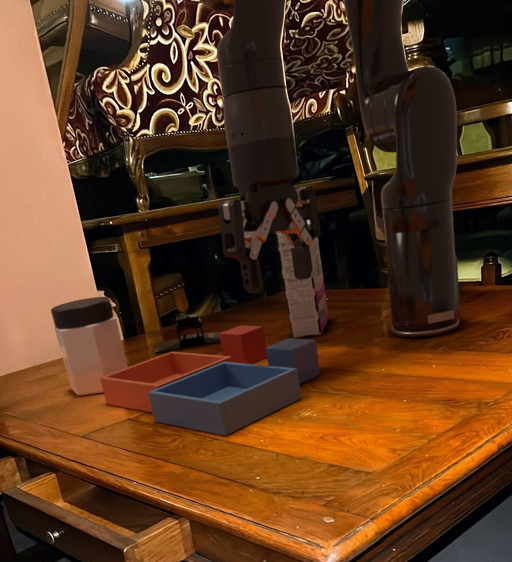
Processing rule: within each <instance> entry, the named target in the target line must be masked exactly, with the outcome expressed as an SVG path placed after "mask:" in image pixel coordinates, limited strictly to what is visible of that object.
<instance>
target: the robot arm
mask: <svg viewBox="0 0 512 562" xmlns="http://www.w3.org/2000/svg"><path fill="white" fill-rule="evenodd" d="M199 1H200V2H201V4H203V6H204V7H206V8H207V9H209V10H211V11H213V12H215V13H229V12H232V11H233V14H232V23H231V25H230V28H229V29H228V31H227V32H225V34H224V35H223V36H222V37H221V39H220V40H219V42H218V44H217V47H216V59H217V68H218V75H219V82H220V90H221V95H222V96H221V97H222V103H223V124H224V130H225V137H226V138H225V139H226V145H227V151H228V158H229V164H230V165H229V166H230V171H231V178H232V185H233V186H234V187H235V188H237V189H238V192H239V197H238V199H231V200H224V201H223V200H222V201H219V203H218V206H217V208H218V217H219V226H220V234H221V235H220V236H221V243H222V251H223V255H224V257H225V258H232V259H236V260H238V262H239V265H240V272H241V279H242V284H243V287H244V289H245V291H246V293H248V294H260V293H263V292H264V289H265V288H264V281H263V275H262V274H263V273H262V269H261V268H262V267H261V261H260V258H258V257H259V255H260V252H261V248H262V245H263V243H265V242H266V241H267V239H268V236H269V235H272V234H276V232H277V231H279V232H280V233H281V234H284V235H285V236H286V237H287V239H288V240H289V241H290V243H291V244H292V245H293V246H294V248H291V252H292V260H293V268H294V276H295V278H297V279H306V278H309V277H311V270H312V264H311V255H310V245H311V243H312V240H313V239H315V238H318V239H319V238H320V237H321V235H322V230H321V224H320V223H321V222H320V215H319V209H318V203H317V196H316V190H315V188H314V186H312V185H309V186H301V187H295V182H294V181H295V180H296V179H297V178H298V176H299V164H298V155H297V148H296V140H295V128H294V122H293V114H292V113H293V112H292V108H291V103H290V100H289V95H288V90H287V84H286V74H285V73H286V72H285V65H284V58H283V51H282V40H283V32H284V25H285V13H286V3H287V0H199ZM342 1H343V6H344V11H345V12H344V13H345V16H346V19H347V20H346V21H347V26H348V30H349V36H350V40H351V46H352V47H351V48H352V52H353V59H354V67H355V76H356V77H355V78H356V85H357V93H358V94H357V95H358V100H359V101H358V102H359V109H360V116H361V121H362V124H363V128H364V131H365V133H366V136H367V137H368V139H369V141H370V142H371V143H372V145H373V146H374V147H375V148H377V150H379V151H381V152H384V153H388V154H389V153H391V154H392V153H395V156H396V157H395V160H396V162H395V163H396V165H395V170H394V172H393V175H392V177H391V178H390V180H388V182H386V183H385V184H384V185H383V186H382V188H381V191H380V203H381V214H382V225H383V237H384V247H385V257H386V270H387V280H388V291H389V293H388V294H389V304H390V315H391V333H392V334H393V336H397V337H401V338H426V337H432V336H438V335H443V334H447V333H449V332H452V331H454V330H457V329H458V328H459V327H460V322H461V306H460V305H461V304H460V290H459V289H460V288H459V287H460V284H459V270H458V267H459V266H458V256H457V255H456V247H455V232H454V231H455V229H454V214H453V184H454V181H455V178H456V174H457V167H458V166H457V165H458V114H457V102H456V101H457V100H456V96H455V91H454V88H453V86H452V83H451V81H450V78H449V77H448V76H447V74H445V72H444V71H443V70H441V69H440V68H438V67H436V66H433V65H420V66H416V67H413V68H409V66H408V63H407V58H406V52H405V46H404V39H403V32H402V31H403V29H402V28H403V27H402V19H403V8H404V1H405V0H342ZM307 220H310V225H311V228H308V224H307Z"/></svg>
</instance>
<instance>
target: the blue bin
mask: <svg viewBox="0 0 512 562" xmlns="http://www.w3.org/2000/svg"><path fill="white" fill-rule="evenodd" d="M148 394H149V398H150V403H151V407H152V412H153V413H152V412H151V413H152V415H153V420H154V422H155V423H161V424H165V425H171V426H176V427H182V428H185V429H189V430H190V429H191V430H194V431H195V430H196V431H201V432H205V433H210V434H213V435H214V434H215V435H220V436H225V437H227V436H228V435H230V434H232V433H235V432H237V431H238V430H240V429H242V428H244V427H246V426H248V425H251V424H252V423H255V422H257V421H258V420H260V419H263V418H265V417H266V416H268V415H270V414H273V413H274V412H276V411H278V410H281V409H283V408H284V407H287V406H288V405H291V404H292V403H295V402H297V401H299V400H300V399H302V393H301V384H299V378H298V371H297V368H287V367H276V366H268V365H267V364H266V365H264V364H254V363H251V364H244V363H234V362H222V363H220V364H217V365H215V366H212V367H210V368H207V369H205V370H202V371H200V372H197V373H195V374H192V375H190V376H187V377H185V378H183V379H180V380H178V381H175V382H173V383H170V384H168V385H165V386H163V387H160V388H158V389H155V390H153V391H150V392H148Z"/></svg>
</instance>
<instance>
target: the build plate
mask: <svg viewBox="0 0 512 562" xmlns="http://www.w3.org/2000/svg"><path fill="white" fill-rule="evenodd" d="M203 328H204V322H203V321H202V319H201V318H200V317H199V313H198V312H196V313H191V314H186V315H180V316H176V324H175V332H176V333H177V336H178V338H174V339H171V340H165V341H162V342H158V343H156V348H155V350H154V351H155V352H154V353H155V355H159V354H166V353H170V352H177V351H180V350H186V349H192V348H198V347H204V346H209V345H214V344H221V341H220V336H219V333H222V332H224V331H225V330H223V331H215V332H207V333H204V329H203ZM189 329H194V330H195V329H200V332H199V331H197V332H196V333H192V334H183V335H182V334H181V332H184V331H186V330H189Z"/></svg>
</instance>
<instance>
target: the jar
mask: <svg viewBox="0 0 512 562" xmlns="http://www.w3.org/2000/svg"><path fill="white" fill-rule="evenodd" d="M50 312H51V316H52V320H53V324H54V332H55V335H56V338H57V342H58V346H59V349H60V353H61V358H62V360H63V364H64V367H65V372H66V376H67V379H68V382H69V386H70V389H71V391H73V392H74V393H75V394H76V396H87V395H94V394H102V393H103V394H104V392H103V388H102V384H101V380H100V378H101V377H104V376H107V375H109V374H112V373H115V372H118V371H120V370H123V369H126V368H128V367H129V366H128V363H127V359H126V355H125V350H124V346H123V342H122V338H121V333H120V330H119V325H118V321H117V317H115V316H114V313H113V305H112V303H111V299H110V297H108V296H96V297H88V298H81V299H75V300H73V301H69V302H64V303H61V304H58V305H56V306H53V307H52V308H51V309H50Z"/></svg>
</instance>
